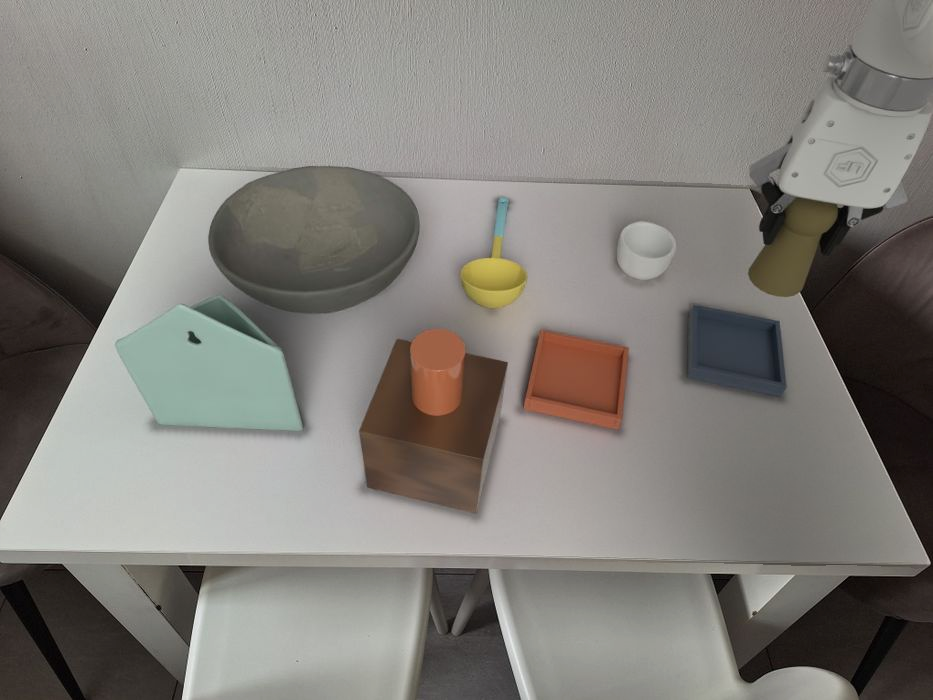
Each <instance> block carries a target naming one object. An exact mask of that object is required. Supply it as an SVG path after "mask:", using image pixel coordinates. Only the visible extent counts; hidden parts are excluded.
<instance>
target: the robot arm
mask: <svg viewBox="0 0 933 700" xmlns="http://www.w3.org/2000/svg"><path fill="white" fill-rule="evenodd" d="M822 72H823V73H828V74H830V75H832V76H828V77H826V79H825V81H824V82H823V83H822V84H821V86H820V87H819V88H818V90H817V91H816V92H815V93H814V95H813V96H812V98H811V99H810V100H809V102H808V103H807V105H806V106H805V108H804V109H803V111H802V113H801V114H800V115H799V117H798V119H797V121H795V122H796V123H795V124H794V126H793V127H792V129H791V131H790V133H789V135H788V136H787V138H786V140H785V142H784V144H783V146H782V147H780V148H778V149H776V150H775V151H773V152H771V153H770V154H767V155H766V156H764V157H762V158H760V159H758V160H757V161H755V162H754V163H752V164H751V165H750V166H749V168H748V172H749V177H750V179H751V180H752V181H753V183H754V184H755V186H756V187H757V188H759V189H760V191H761V194H762V195H763V197H764V199H765V201H766V202H767V204H768V205H767V207H766V209H765V210H764V213H763V215H762V217H761V220H760V221H759V225H758V230H759V232H760V233H762V241H763V245H764V246H765V245H770V244H772V243H773V241H774V239H775V237H776V235H777V233H778V231H779V229H780V228H781V226H782V224H783V222H784V220H785V217H786V213H785V209H786V207H787V206H788V205H789V204H790V203H791V202H792V201H793V200H794V199H795V198H796V197H800V198H805V199H811V200H816V201H822V202H828V203H833V204H837V205H840V206H842V207H838V216H837V219H836V221H835V223H834V224H833V226H832V227H831V228H830V229H829V230H828V231H827V232H824V233H822V236H821V239H820V241H819V248H820V253H821V254H822V256H827V257H829V256H830V255H831V254H832V253H833V251H834V249H835V247H836V246H837V247H838V246H840V245H841V243H842V242H843V241H844V239H845V237H846V236H847V235H848V233H849V231H850V229H851V228H853V227H857V226H859V225H860V224H861V221H863V220H866V219H868V218H870V217H873V216H875V215H878V214H880V213H882V212H883V210H888V209H893V208H895V207H898V206H901V205H904V204H906V203H907V202H908V201H909V194H908V193H907V189H906V187H905V183H904V180H903V178H904V176H905V174H906V173H907V172H908V171H907V170H908V169H909V167H910V165H911V163H912V161H913V159H914V157H915V155H916V154H917V151H918V149H919V148H920V147H919V146H920V145H921V143H922V141H923V138H924V136H925V134H926V131H927V129H928V126H929V125H930V122H931V119H932V115H933V104H932V103H931V101H930V98H931V97H932V95H933V0H872V2H871V4H870V6H869V8H868V10H867V13H866V15H865V16H864V18H863V20H862V23H861V24H860V26H859V28H858V30H857V32H856V35H855V36H854V39H853V41H852V42H851V44H848V45H847V47H846V49H845V51H843V53H842V54H837V55H830V54H828V55H827V56H826V58H825V60H824V62H823V65H822ZM777 170H779V172H778V177H777V182H776V181H775V179H774V177H773V176H771V175H770V174H772V173H773V172H776V171H777Z"/></svg>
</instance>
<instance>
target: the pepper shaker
mask: <svg viewBox="0 0 933 700" xmlns="http://www.w3.org/2000/svg"><path fill="white" fill-rule="evenodd" d="M838 208H839V207H838V204H833V203H828V202H822V201H816V200H811V199H805V198H800V197H796V198H795V199H794V200H793V201H792V202H791V203H790V204H789V205H788V206H787V207H786V209H785V213H786V217H785V220H784V222H783V224H782V226H781V228H780V229H779V231H778V233H777V235H776V237H775V239H774V241H773V243H772V244H770V245H765V244H764V246H763V247H762V248H761V250H760V252H759V253H758V255H757V256H756V257H755V259H754V260H753V262H752V263H751V265H750V266H749V267H748V272H747V275H748V278H749V281H750V282H751V283H752V284H753V286H754V287H756V288H757V289H758V290H759V291H761V292H763V293H765V294H767V295H769V296H770V295H771V296H774V297H780V298H789V297H794V296H796V295H798V294H800V293H801V292H802V290H803V289H804V287H805V283H806V281H807V277H808V275H809V272H810V270H811V266H812V264H813V261H814V258H815V255H816V252H817V249H818V248H819V245H820V243H819V241H820V239H821V236H822V233H824V232H827V231H828V230H829V229H830V228H831V227H832V226H833V224H834V223H835V221H836V219H837V216H838Z"/></svg>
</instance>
